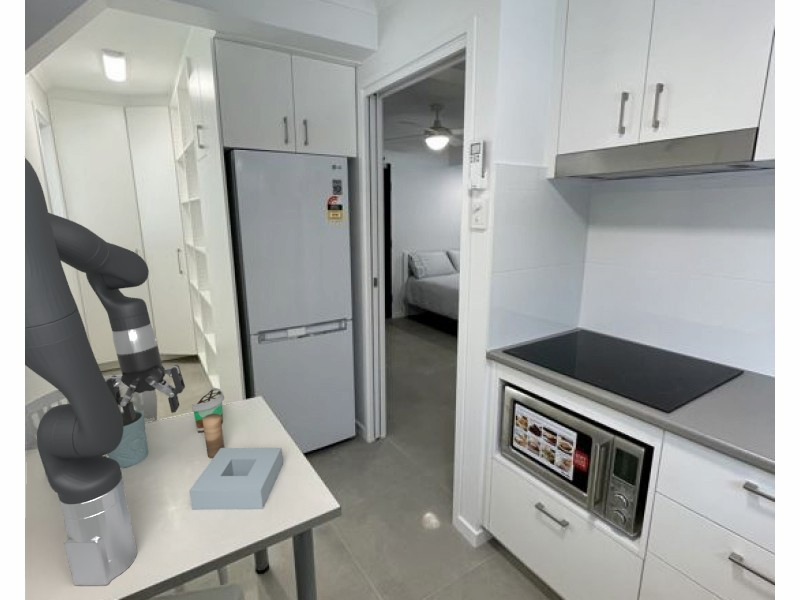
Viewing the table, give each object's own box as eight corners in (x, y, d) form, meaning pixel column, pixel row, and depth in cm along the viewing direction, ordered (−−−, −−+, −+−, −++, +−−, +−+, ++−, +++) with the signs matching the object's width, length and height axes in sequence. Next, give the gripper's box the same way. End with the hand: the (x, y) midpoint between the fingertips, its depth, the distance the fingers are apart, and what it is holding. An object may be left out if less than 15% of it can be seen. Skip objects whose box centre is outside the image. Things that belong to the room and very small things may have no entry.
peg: (220, 458, 109) (215, 421, 106) (204, 458, 109) (199, 422, 106) (227, 448, 113) (223, 413, 110) (212, 448, 113) (207, 413, 110)
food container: (215, 435, 119) (211, 405, 117) (195, 435, 120) (191, 405, 117) (233, 414, 131) (230, 386, 129) (215, 414, 132) (211, 386, 129)
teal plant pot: (146, 464, 106) (139, 424, 103) (101, 474, 103) (92, 432, 100) (153, 444, 115) (147, 406, 113) (112, 452, 112) (104, 413, 109)
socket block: (262, 508, 90) (260, 489, 89) (192, 509, 90) (189, 490, 89) (283, 464, 106) (281, 447, 105) (222, 464, 106) (220, 447, 105)
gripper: (91, 358, 81) (111, 430, 84) (167, 346, 84) (184, 415, 88) (107, 347, 88) (125, 414, 92) (177, 336, 92) (192, 401, 95)
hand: (154, 415), depth 90 cm, fingers open, 8 cm apart
